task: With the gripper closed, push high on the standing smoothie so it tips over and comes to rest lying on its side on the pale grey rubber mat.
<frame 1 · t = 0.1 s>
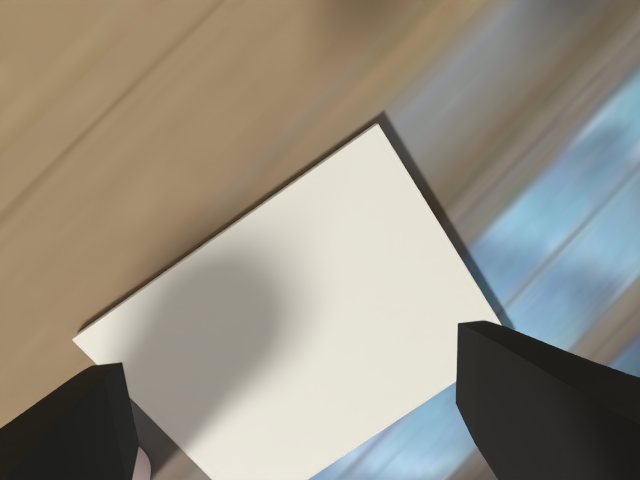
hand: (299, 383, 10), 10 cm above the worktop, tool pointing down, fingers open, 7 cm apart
smoothie: (110, 467, 22), on the worktop
mat: (306, 336, 21), on the worktop
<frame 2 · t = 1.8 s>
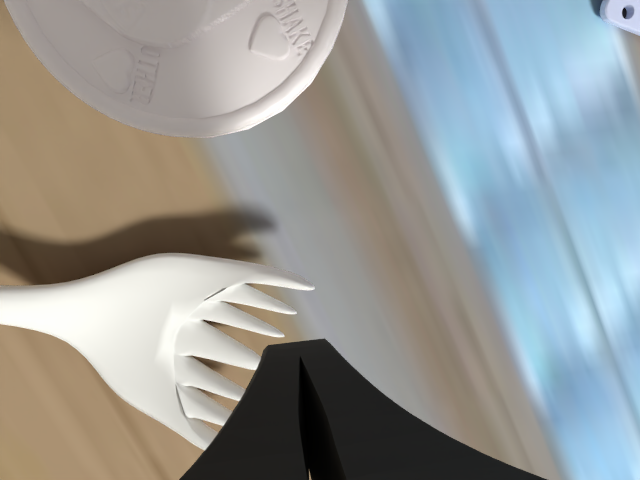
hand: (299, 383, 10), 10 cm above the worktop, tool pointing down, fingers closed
smoothie: (219, 35, 18), on the worktop
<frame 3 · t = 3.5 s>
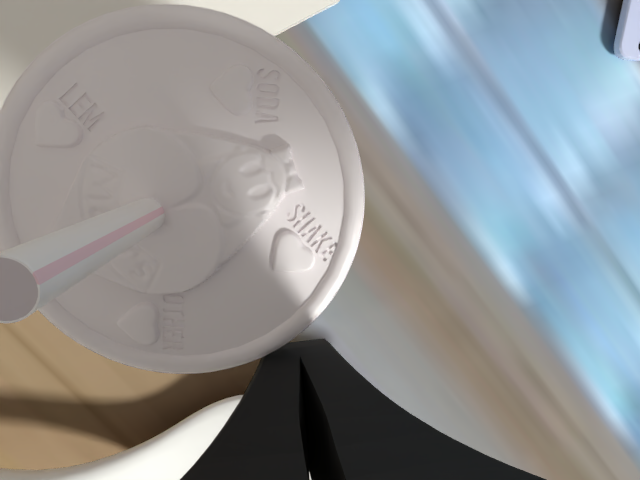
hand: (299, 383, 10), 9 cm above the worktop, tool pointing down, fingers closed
smoothie: (234, 172, 18), on the worktop
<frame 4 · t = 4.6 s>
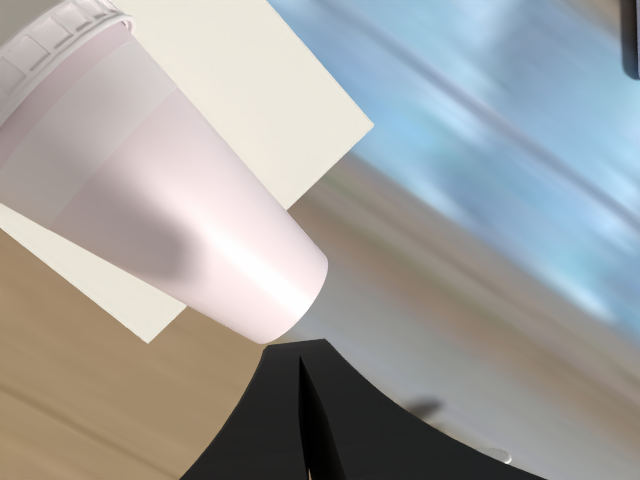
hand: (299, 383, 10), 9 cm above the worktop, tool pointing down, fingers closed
smoothie: (292, 299, 16), point 3 cm above the worktop, touching mat
mat: (100, 85, 16), on the worktop
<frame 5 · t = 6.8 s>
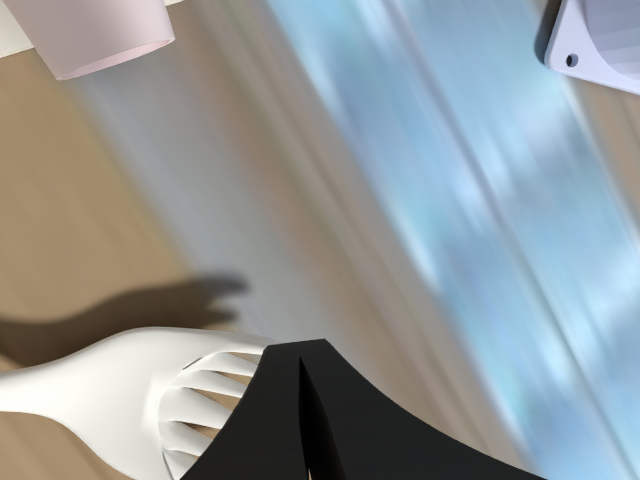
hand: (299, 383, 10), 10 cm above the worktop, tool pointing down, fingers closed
smoothie: (121, 65, 14), point 3 cm above the worktop, touching mat
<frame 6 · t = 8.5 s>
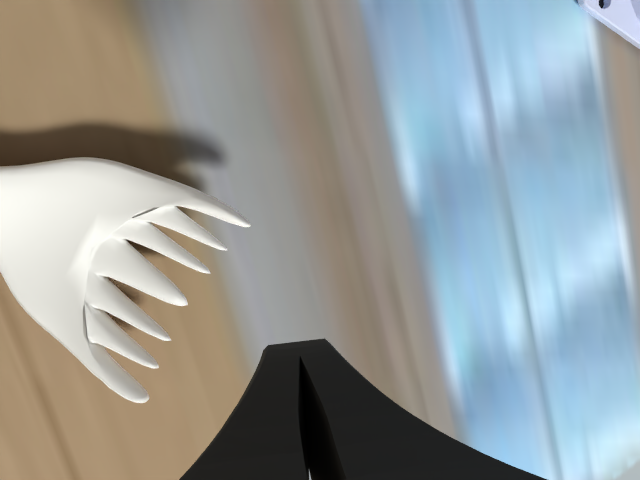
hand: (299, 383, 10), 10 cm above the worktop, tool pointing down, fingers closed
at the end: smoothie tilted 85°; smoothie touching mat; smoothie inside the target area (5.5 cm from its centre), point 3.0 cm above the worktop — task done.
